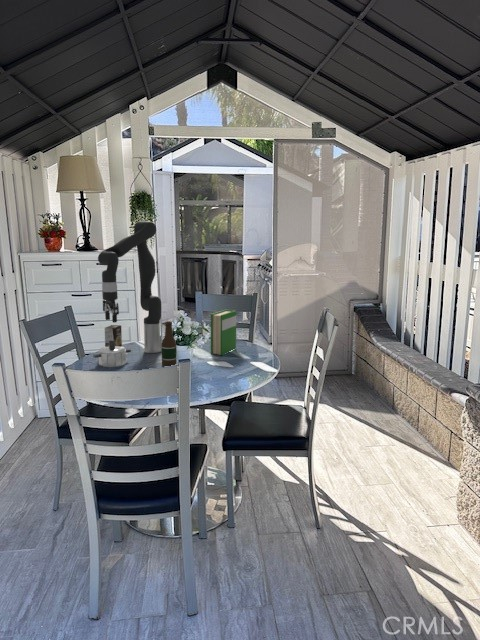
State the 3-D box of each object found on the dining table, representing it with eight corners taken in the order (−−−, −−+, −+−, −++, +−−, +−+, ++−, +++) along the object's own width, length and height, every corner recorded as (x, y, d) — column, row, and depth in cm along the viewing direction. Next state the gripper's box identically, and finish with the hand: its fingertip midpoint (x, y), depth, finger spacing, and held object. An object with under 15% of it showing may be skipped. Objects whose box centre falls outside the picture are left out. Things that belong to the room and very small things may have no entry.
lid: (118, 348, 255) (118, 336, 254) (129, 353, 245) (129, 341, 243) (94, 351, 246) (94, 339, 245) (105, 357, 236) (104, 344, 235)
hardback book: (221, 356, 264) (222, 315, 259) (210, 354, 267) (210, 314, 263) (235, 349, 279) (236, 310, 275) (225, 348, 283) (225, 309, 278)
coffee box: (115, 356, 261) (114, 328, 258) (105, 355, 262) (103, 327, 259) (122, 352, 270) (121, 325, 267) (112, 351, 271) (111, 324, 268)
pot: (124, 357, 258) (124, 345, 257) (136, 363, 248) (135, 350, 247) (89, 363, 246) (88, 350, 244) (100, 369, 235) (99, 356, 234)
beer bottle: (179, 365, 244) (179, 321, 240) (170, 369, 238) (169, 323, 233) (168, 363, 248) (167, 319, 243) (158, 367, 241) (157, 322, 237)
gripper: (122, 291, 236) (123, 322, 239) (110, 288, 247) (112, 318, 250) (108, 292, 231) (110, 324, 235) (97, 289, 242) (98, 319, 245)
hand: (111, 321), depth 242 cm, fingers open, 8 cm apart
